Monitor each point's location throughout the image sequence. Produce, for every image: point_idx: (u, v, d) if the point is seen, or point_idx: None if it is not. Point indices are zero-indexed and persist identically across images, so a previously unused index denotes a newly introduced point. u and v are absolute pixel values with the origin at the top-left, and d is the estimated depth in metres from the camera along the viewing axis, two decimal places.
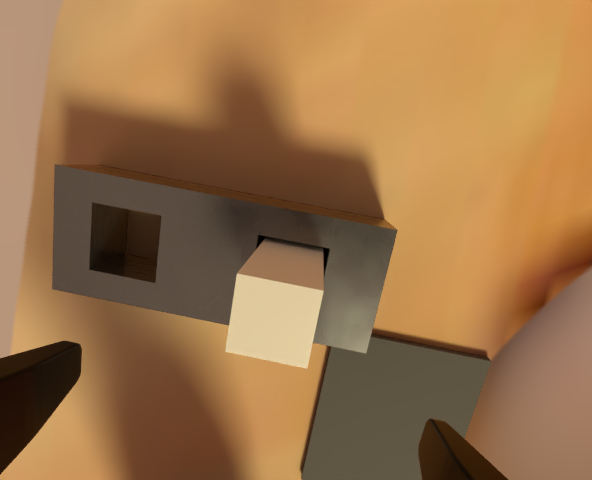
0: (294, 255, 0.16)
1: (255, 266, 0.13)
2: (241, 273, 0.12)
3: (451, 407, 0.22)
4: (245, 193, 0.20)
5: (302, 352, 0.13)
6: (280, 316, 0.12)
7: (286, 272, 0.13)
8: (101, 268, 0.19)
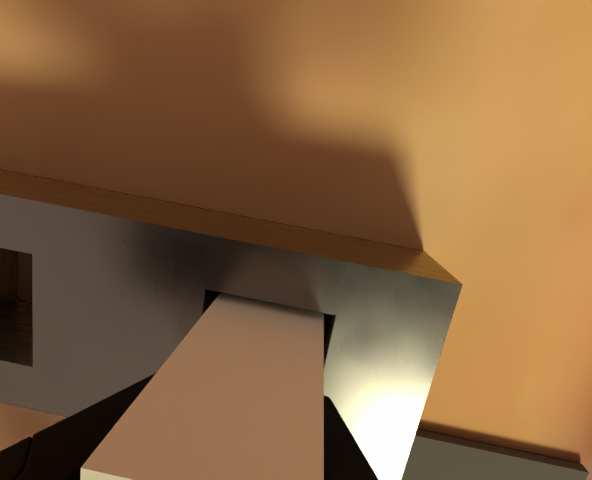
0: (267, 340, 0.08)
1: (158, 408, 0.06)
2: (96, 463, 0.04)
3: None
4: (196, 208, 0.13)
5: None
6: None
7: (232, 426, 0.05)
8: None
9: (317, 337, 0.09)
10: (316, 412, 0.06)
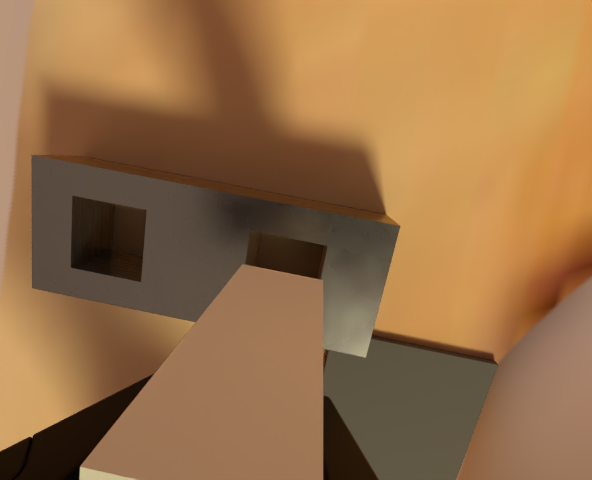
0: (267, 340, 0.08)
1: (158, 407, 0.06)
2: (96, 462, 0.04)
3: (455, 412, 0.21)
4: (238, 186, 0.19)
5: None
6: None
7: (231, 426, 0.05)
8: (84, 266, 0.18)
9: (317, 336, 0.09)
10: (316, 411, 0.06)
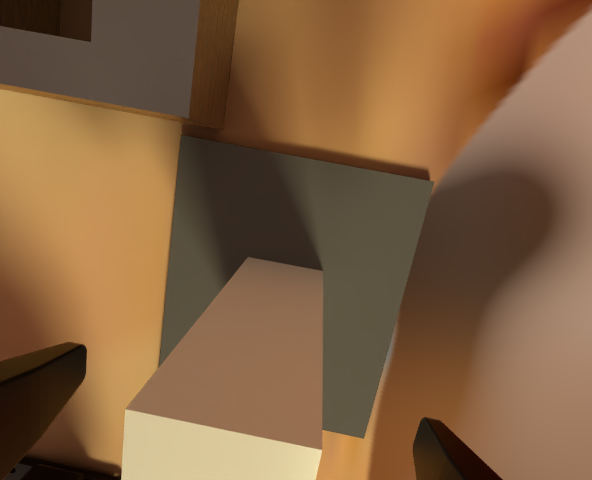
0: (272, 319, 0.09)
1: (183, 369, 0.07)
2: (137, 406, 0.05)
3: (373, 267, 0.14)
4: None
5: None
6: None
7: (245, 383, 0.06)
8: None
9: (317, 317, 0.10)
10: (316, 374, 0.07)
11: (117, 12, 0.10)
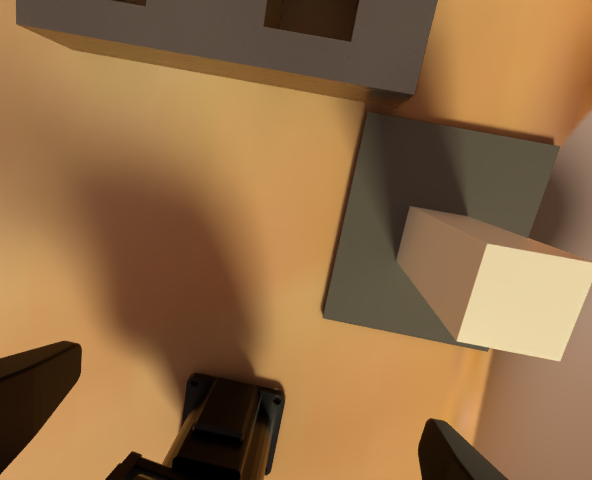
0: (486, 229, 0.14)
1: (483, 237, 0.11)
2: (490, 243, 0.10)
3: (508, 212, 0.18)
4: None
5: (557, 341, 0.10)
6: (535, 297, 0.10)
7: (522, 244, 0.11)
8: None
9: (508, 231, 0.14)
10: (550, 247, 0.12)
11: (373, 21, 0.14)
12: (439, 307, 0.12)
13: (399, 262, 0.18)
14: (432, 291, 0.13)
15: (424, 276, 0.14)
